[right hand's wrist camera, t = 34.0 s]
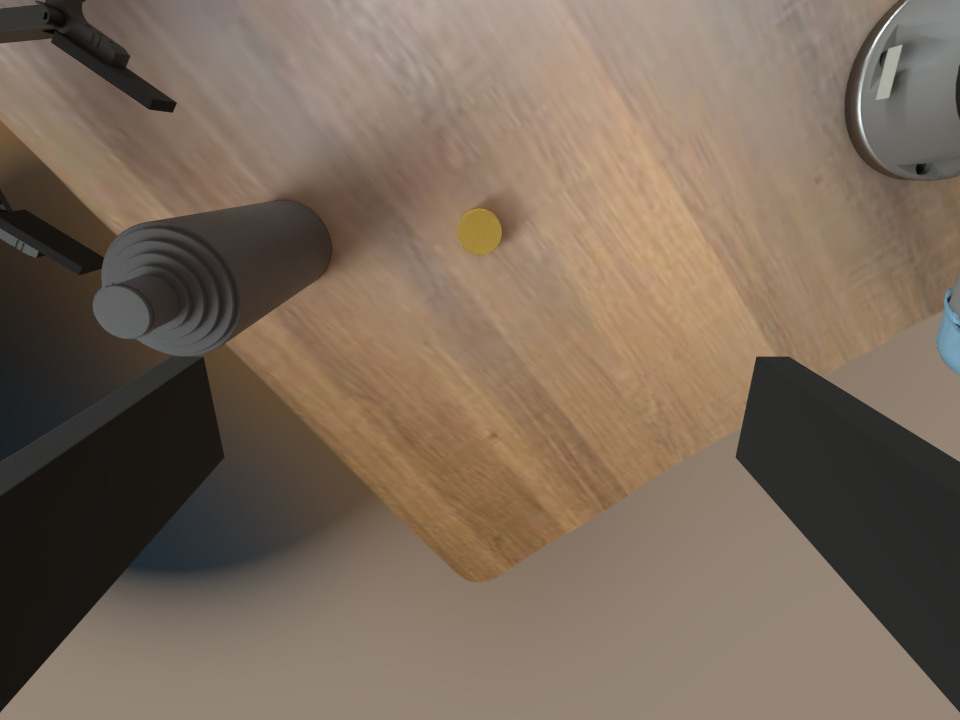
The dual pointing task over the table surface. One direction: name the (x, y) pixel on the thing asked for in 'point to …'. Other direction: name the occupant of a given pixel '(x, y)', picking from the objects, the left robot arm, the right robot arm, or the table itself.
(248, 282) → the bottle
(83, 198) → the table surface
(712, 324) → the table surface
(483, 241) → the cap
